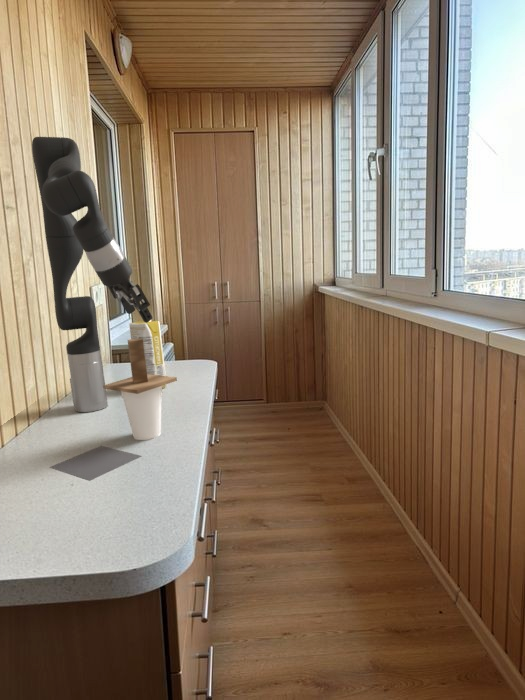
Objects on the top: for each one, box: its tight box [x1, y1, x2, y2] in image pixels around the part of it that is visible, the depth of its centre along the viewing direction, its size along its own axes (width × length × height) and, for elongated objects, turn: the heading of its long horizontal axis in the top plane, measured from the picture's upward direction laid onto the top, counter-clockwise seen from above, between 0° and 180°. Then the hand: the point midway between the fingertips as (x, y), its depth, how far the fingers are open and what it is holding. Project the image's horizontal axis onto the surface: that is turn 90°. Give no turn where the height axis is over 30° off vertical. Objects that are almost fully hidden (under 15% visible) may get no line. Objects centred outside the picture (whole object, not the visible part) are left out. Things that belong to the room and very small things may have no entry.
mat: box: [49, 445, 142, 482], centre depth 103 cm, size 14×13×1 cm
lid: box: [103, 338, 178, 394], centre depth 113 cm, size 12×12×11 cm
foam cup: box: [120, 386, 163, 441], centre depth 115 cm, size 10×9×13 cm
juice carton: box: [129, 319, 168, 390], centre depth 161 cm, size 9×8×24 cm
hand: (140, 316), depth 120 cm, fingers open, 8 cm apart
